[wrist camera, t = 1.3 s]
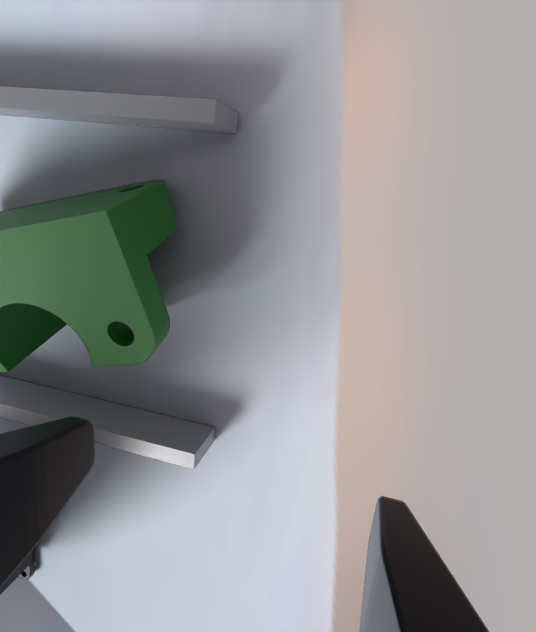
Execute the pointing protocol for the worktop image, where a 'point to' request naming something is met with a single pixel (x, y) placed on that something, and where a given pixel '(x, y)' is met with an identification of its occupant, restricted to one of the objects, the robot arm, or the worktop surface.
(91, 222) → the green bracket
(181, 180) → the worktop surface
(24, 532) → the robot arm
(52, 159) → the worktop surface
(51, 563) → the worktop surface
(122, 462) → the worktop surface
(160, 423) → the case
